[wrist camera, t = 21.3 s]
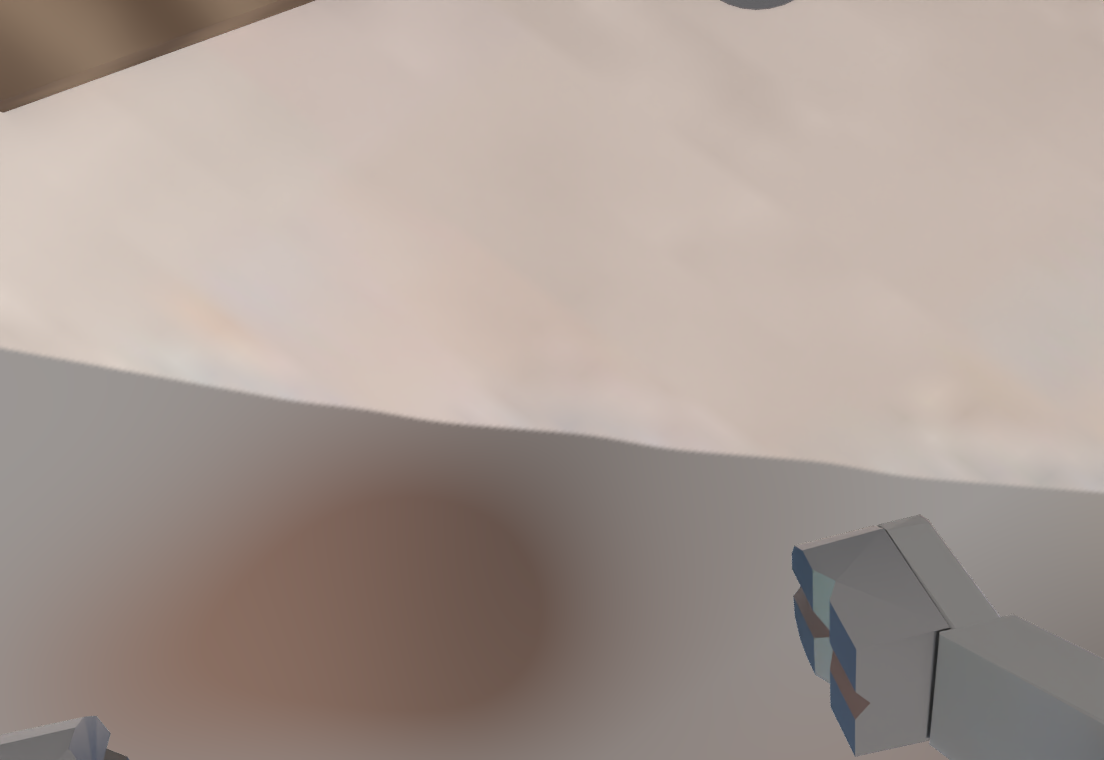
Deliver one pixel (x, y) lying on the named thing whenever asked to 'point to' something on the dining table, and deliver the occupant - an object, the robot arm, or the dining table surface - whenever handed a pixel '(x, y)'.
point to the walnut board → (105, 37)
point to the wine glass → (757, 3)
